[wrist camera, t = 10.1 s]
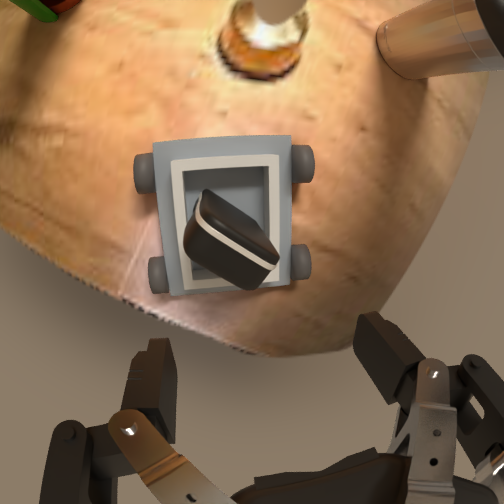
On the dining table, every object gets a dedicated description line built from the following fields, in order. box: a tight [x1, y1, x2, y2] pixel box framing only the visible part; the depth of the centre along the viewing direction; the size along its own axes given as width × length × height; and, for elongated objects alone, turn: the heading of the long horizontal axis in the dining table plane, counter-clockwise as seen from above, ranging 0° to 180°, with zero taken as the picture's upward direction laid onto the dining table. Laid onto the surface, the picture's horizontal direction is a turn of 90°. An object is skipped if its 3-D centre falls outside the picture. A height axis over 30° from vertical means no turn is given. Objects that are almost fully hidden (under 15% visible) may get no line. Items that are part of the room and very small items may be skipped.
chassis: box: [133, 135, 315, 296], centre depth 29 cm, size 17×17×4 cm
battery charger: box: [183, 189, 280, 290], centre depth 24 cm, size 7×4×11 cm, turn 54°
